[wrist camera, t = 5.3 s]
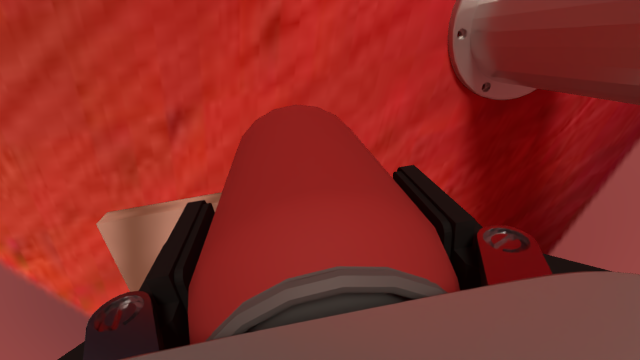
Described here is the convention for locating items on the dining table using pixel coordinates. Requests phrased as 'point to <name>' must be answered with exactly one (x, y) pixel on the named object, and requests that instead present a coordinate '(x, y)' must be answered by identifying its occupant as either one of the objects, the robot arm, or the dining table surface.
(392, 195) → the beer can
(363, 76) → the dining table surface
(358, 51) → the dining table surface
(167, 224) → the birch board
